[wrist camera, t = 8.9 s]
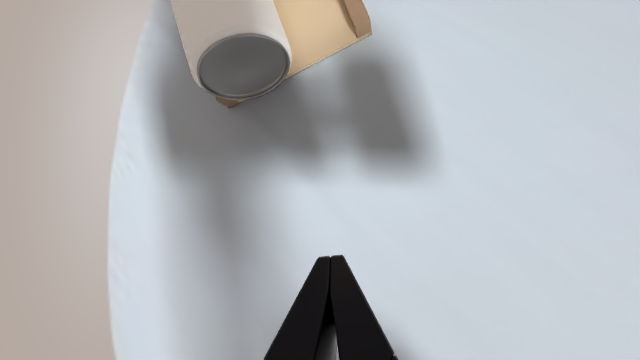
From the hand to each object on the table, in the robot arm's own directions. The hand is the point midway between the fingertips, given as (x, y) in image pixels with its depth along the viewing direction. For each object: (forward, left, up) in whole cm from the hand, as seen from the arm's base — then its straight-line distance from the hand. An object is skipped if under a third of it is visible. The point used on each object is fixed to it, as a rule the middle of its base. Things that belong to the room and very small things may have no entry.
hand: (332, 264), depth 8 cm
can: (+8, +9, -5) cm, 13 cm away
